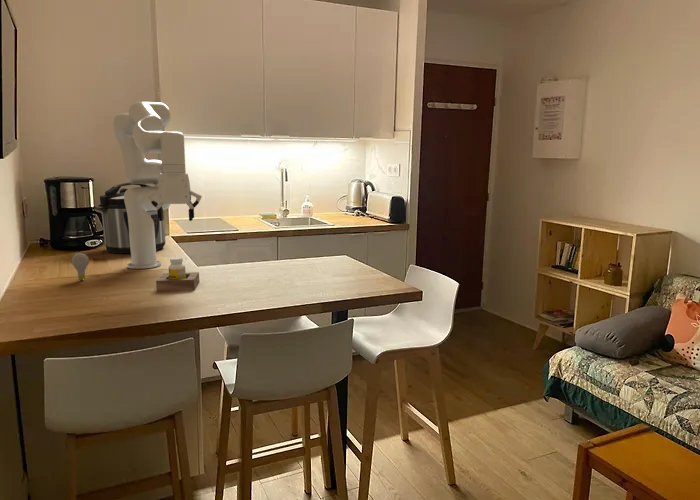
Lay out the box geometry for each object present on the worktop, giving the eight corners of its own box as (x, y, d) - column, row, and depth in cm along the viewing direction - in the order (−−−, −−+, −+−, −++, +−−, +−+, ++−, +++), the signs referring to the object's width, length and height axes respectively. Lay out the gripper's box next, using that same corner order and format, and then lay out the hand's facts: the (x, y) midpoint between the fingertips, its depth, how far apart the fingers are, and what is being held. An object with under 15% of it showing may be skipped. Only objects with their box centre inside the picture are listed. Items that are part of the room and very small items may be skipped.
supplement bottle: (166, 286, 187) (164, 258, 185) (181, 284, 191) (179, 256, 189) (175, 289, 183) (173, 260, 182) (189, 286, 187) (187, 258, 185)
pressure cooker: (94, 256, 245) (88, 184, 240) (108, 246, 273) (102, 181, 267) (165, 253, 251) (160, 183, 246) (171, 244, 279) (167, 180, 273)
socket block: (164, 283, 192) (163, 273, 191) (199, 282, 194) (198, 272, 193) (156, 291, 180) (156, 281, 180) (194, 290, 182) (193, 279, 181)
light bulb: (83, 282, 194) (81, 254, 192) (70, 282, 195) (67, 254, 193) (93, 279, 199) (91, 252, 197) (80, 278, 200) (77, 251, 199)
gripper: (144, 170, 180) (147, 222, 183) (198, 170, 182) (200, 221, 185) (149, 168, 187) (152, 219, 190) (202, 169, 189) (204, 218, 192)
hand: (176, 220), depth 188 cm, fingers open, 9 cm apart
